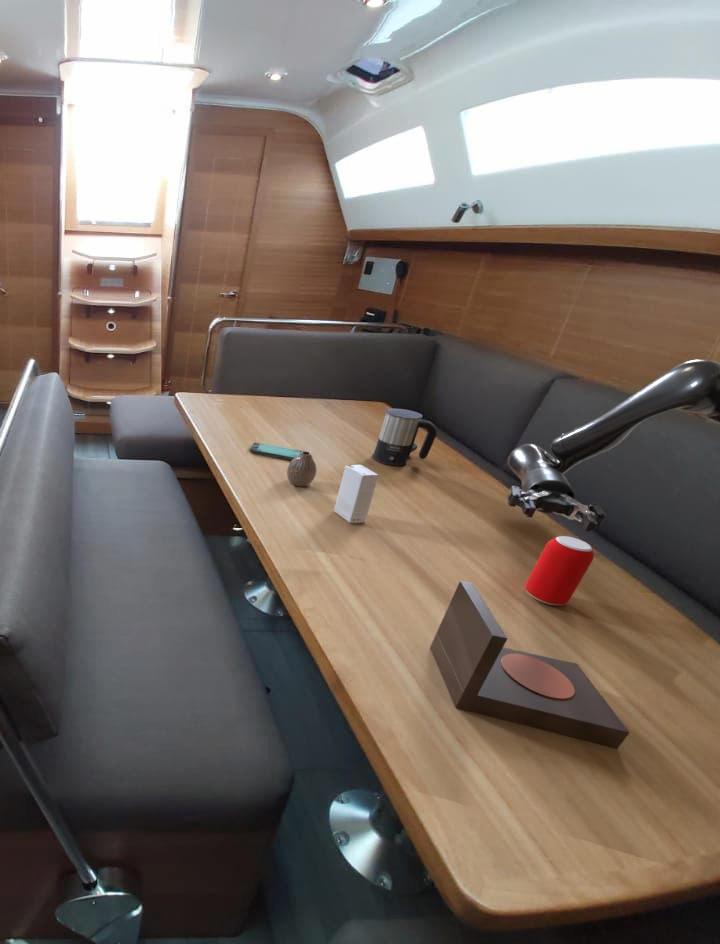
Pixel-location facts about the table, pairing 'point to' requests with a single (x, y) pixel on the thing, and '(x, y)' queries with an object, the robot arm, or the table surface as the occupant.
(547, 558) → the beverage can
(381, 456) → the milk frother
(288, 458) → the smartphone
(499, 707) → the bookend
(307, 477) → the vase
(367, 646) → the table surface
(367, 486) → the cosmetic box
